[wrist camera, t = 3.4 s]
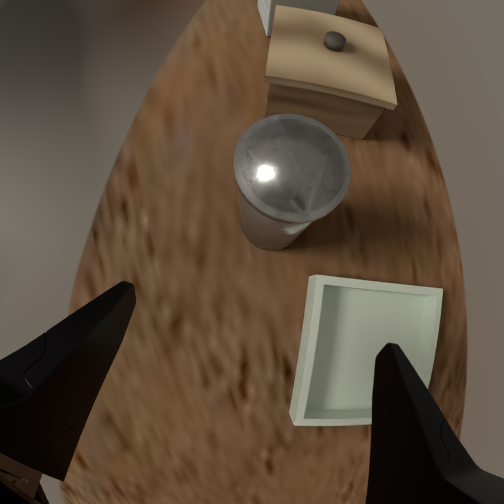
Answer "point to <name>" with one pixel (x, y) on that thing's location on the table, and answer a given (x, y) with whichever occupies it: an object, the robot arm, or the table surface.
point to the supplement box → (324, 3)
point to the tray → (358, 344)
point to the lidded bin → (328, 70)
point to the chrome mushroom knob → (288, 177)
